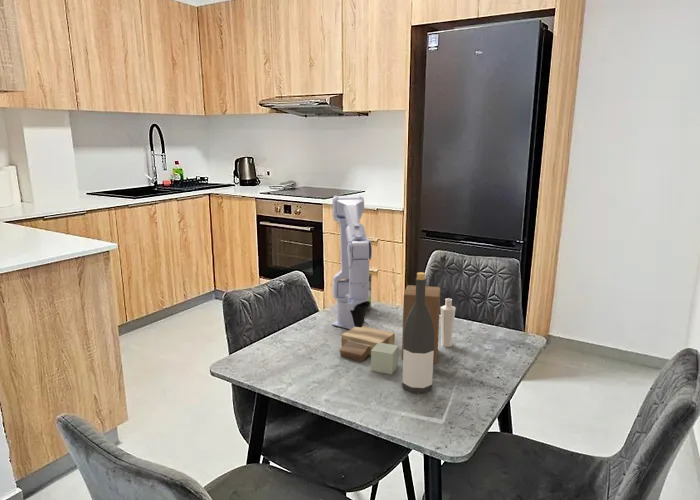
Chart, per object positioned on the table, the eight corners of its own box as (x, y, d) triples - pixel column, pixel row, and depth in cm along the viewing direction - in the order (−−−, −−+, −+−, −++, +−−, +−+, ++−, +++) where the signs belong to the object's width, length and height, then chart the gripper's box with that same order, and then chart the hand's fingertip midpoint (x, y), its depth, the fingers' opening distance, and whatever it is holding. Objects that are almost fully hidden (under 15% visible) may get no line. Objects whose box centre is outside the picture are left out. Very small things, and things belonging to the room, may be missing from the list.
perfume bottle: (453, 343, 152) (455, 297, 149) (454, 348, 148) (457, 301, 145) (438, 342, 153) (440, 296, 150) (439, 347, 148) (441, 301, 145)
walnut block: (348, 340, 145) (339, 349, 142) (369, 345, 142) (361, 355, 138) (349, 346, 146) (340, 355, 143) (370, 351, 142) (362, 361, 139)
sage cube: (377, 362, 139) (378, 342, 137) (398, 365, 137) (398, 345, 135) (370, 370, 133) (371, 350, 132) (391, 374, 131) (392, 353, 130)
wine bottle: (426, 397, 119) (431, 279, 113) (396, 389, 123) (399, 274, 117) (437, 383, 126) (442, 271, 120) (408, 376, 130) (411, 267, 124)
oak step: (358, 337, 156) (358, 324, 155) (394, 346, 150) (394, 332, 149) (341, 348, 148) (341, 334, 147) (378, 357, 141) (379, 343, 140)
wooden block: (436, 364, 137) (439, 296, 133) (401, 361, 139) (403, 294, 135) (437, 350, 147) (440, 286, 143) (404, 347, 149) (406, 284, 145)
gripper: (355, 274, 148) (354, 316, 150) (336, 286, 134) (336, 332, 137) (377, 276, 145) (376, 319, 148) (360, 289, 132) (359, 336, 135)
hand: (358, 326), depth 142 cm, fingers closed
